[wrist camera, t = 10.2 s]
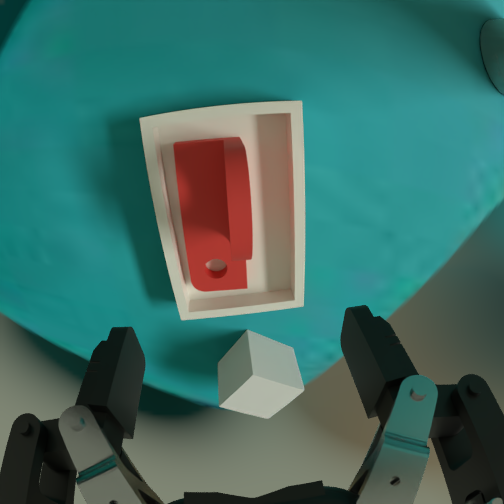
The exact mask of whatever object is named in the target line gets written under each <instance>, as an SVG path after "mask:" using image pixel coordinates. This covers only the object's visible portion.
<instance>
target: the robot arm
mask: <svg viewBox="0 0 504 504" xmlns="http://www.w3.org/2000/svg"><path fill="white" fill-rule="evenodd" d="M480 40H481V52H482V57H483V61H484V64H485V67H486V70H487V72H488V74H489V77H490V79H491V80H492V82H493V84H494V85H495V87H496V88H497V89H498V90H499V92H501V93H502V94H503V95H504V19H490V20H488V21H486V23H485V24H484V25H483V28H482V30H481V37H480ZM341 348H342V352H343V354H344V357H345V359H346V362H347V364H348V367H349V369H350V372H351V374H352V377H353V379H354V382H355V385H356V387H357V390H358V393H359V395H360V398H361V400H362V403H363V406H364V408H365V411H366V414H367V417H368V418H372V417H376V416H378V418H379V420H380V424H379V426H378V428H377V431H376V433H375V436H374V438H373V440H372V443H371V445H370V448H369V450H368V452H367V455H366V457H365V459H364V461H363V464H362V466H361V467H360V469H359V471H358V473H357V474H356V476H355V478H354V480H353V482H352V483H351V485H350V487H349V489H348V490H345V489H341V488H337V487H329V486H323V483H322V481H316V482H311V483H306V484H300V485H294V486H288V487H285V488H283V489H280V490H277V491H275V492H271V493H269V494H266V495H263V496H260V497H256V498H248V497H241V496H235V495H229V494H223V493H218V492H210V493H208V492H206V493H205V492H202V493H201V492H200V493H199V492H198V493H197V492H184V498H183V499H179V500H176V501H173V502H171V503H168V504H413V502H414V499H415V497H416V494H417V491H418V488H419V485H420V483H421V480H422V477H423V474H424V470H425V467H426V464H427V461H428V457H429V453H430V448H429V447H427V440H428V438H431V440H432V442H433V445H434V448H435V451H436V454H437V457H438V459H439V462H440V465H441V468H442V471H443V474H444V477H445V481H446V484H447V487H448V490H449V494H450V497H451V500H452V504H504V415H503V413H502V411H501V409H500V407H499V405H498V403H497V401H496V399H495V397H494V395H493V393H492V392H491V390H490V388H489V386H488V384H487V383H486V381H485V380H484V379H483V378H481V377H479V376H478V375H474V374H468V375H465V376H463V377H462V378H461V379H460V381H459V382H458V384H455V385H454V384H452V385H436V384H434V382H433V381H432V380H430V379H429V378H427V377H425V376H422V375H419V374H418V373H417V371H416V369H415V367H414V365H413V363H412V362H411V360H410V358H409V356H408V355H407V353H406V351H405V349H404V348H403V346H402V344H400V341H399V339H398V337H397V336H396V334H395V332H394V330H393V329H392V327H391V325H390V324H389V323H388V322H387V321H385V320H384V319H383V318H382V317H380V316H377V317H373V315H372V313H371V311H370V310H369V308H368V306H366V305H362V306H355V307H349V308H347V309H346V311H345V316H344V321H343V327H342V332H341ZM144 371H145V357H144V353H143V351H142V349H141V346H140V344H139V341H138V339H137V337H136V334H135V332H134V330H133V328H132V327H113V328H112V329H111V331H110V334H109V336H108V339H107V341H101V342H100V343H99V345H98V346H97V347H96V348H95V349H94V351H93V353H92V356H91V359H90V363H89V365H88V368H87V372H86V373H85V376H84V379H83V382H82V385H81V388H80V392H79V395H78V398H77V401H76V404H75V406H72V407H69V408H67V409H66V410H65V411H64V412H63V413H62V415H61V417H60V418H58V419H53V420H46V421H40V420H39V419H38V418H37V417H36V416H35V415H33V414H30V413H26V414H23V415H20V416H19V417H18V418H17V419H16V420H15V421H14V423H13V425H12V428H11V432H10V435H9V439H8V442H7V447H6V451H5V455H4V459H3V463H2V467H1V472H0V504H74V491H75V483H76V482H77V485H78V487H79V489H80V491H81V493H82V495H83V497H84V499H85V501H86V502H87V504H164V503H163V501H162V500H161V499H160V498H159V497H158V495H157V494H156V493H155V492H154V491H153V490H152V489H151V488H150V487H149V486H148V484H147V483H146V482H145V480H144V479H143V477H142V476H141V475H140V473H139V472H138V470H137V469H136V467H135V466H134V464H133V463H132V462H131V460H130V458H129V457H128V455H127V453H126V452H125V450H124V449H123V447H122V442H123V438H127V439H133V435H134V429H135V422H136V416H137V410H138V404H139V398H140V393H141V387H142V382H143V377H144ZM42 463H43V465H42ZM41 468H42V471H41ZM77 471H78V474H79V477H77V478H76V475H77ZM40 474H41V477H40ZM39 480H40V483H39Z"/></svg>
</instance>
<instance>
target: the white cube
mask: <svg viewBox="0 0 504 504" xmlns="http://www.w3.org/2000/svg"><path fill="white" fill-rule="evenodd" d="M218 390H219V407H223V408H226V409H230V410H234V411H238V412H241V413H245V414H250V415H254V416H258V417H263V418H267V419H269V418H270V417H271V416H273V415H274V414H275V413H277V412H278V411H279V410H280V409H282V408H283V407H284V406H286V405H287V404H288V403H289V402H291V401H292V400H293V399H294V398H295V397H297V396H298V395H299V394H300V393H302V392H303V391H304V386H303V382H302V379H301V375H300V371H299V368H298V364H297V360H296V357H295V353H294V350H293V348H292V347H290V346H287V345H284V344H282V343H279V342H277V341H274V340H272V339H269V338H267V337H264V336H262V335H259V334H257V333H255V332H252V331H250V330H246V331H245V333H244V334H243V335H242V336H241V337H240V338H239V340H238V341H237V342H236V343H235V344H234V345H233V346H232V348H231V349H230V350H229V351H228V352H227V353H226V354H225V355H224V357H223V358H222V359H221V360H220V361H219V362H218Z"/></svg>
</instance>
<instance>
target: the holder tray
mask: <svg viewBox="0 0 504 504" xmlns="http://www.w3.org/2000/svg"><path fill="white" fill-rule="evenodd" d="M139 119H140V126H141V134H142V140H143V147H144V153H145V160H146V166H147V172H148V177H149V183H150V188H151V194H152V199H153V204H154V209H155V214H156V219H157V224H158V228H159V233H160V238H161V242H162V246H163V251H164V255H165V259H166V264H167V268H168V272H169V276H170V280H171V284H172V288H173V291H174V295H175V299H176V303H177V306H178V310H179V314H180V317H181V320H189V319H200V318H211V317H221V316H230V315H239V314H248V313H257V312H265V311H273V310H280V309H288V308H295V307H302V306H304V275H305V169H304V136H303V113H302V101H270V102H253V103H240V104H229V105H219V106H210V107H202V108H194V109H187V110H181V111H174V112H168V113H162V114H157V115H151V116H147V117H142V118H139ZM228 137H240V139H241V140H242V142H243V144H244V146H245V149H246V155H247V161H248V170H249V180H250V191H251V206H252V228H253V252H252V259H251V260H246V267H247V287H248V289H236V290H223V291H209V292H203V291H199V290H197V289H196V288H194V287H193V285H192V283H191V278H190V272H189V266H188V260H187V253H186V246H185V240H184V233H183V225H182V218H181V210H180V202H179V194H178V186H177V177H176V168H175V158H174V148H173V144H174V143H175V142H182V141H191V140H202V139H214V138H228ZM206 267H207V268H208V269H210V270H212V271H220V270H223V269H224V268H225V267H226V263H225V262H224V261H222V260H219V259H212V260H210V261H208V262H207V263H206Z"/></svg>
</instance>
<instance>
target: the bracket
mask: <svg viewBox="0 0 504 504" xmlns="http://www.w3.org/2000/svg"><path fill="white" fill-rule="evenodd" d="M173 148H174V158H175V168H176V177H177V186H178V194H179V202H180V210H181V218H182V225H183V233H184V240H185V246H186V253H187V260H188V266H189V272H190V278H191V283H192V285H193V287H194V288H196V289H197V290H199V291H203V292H209V291H223V290H236V289H248V287H247V267H246V260H251V259H252V252H253V228H252V206H251V191H250V180H249V170H248V161H247V155H246V149H245V146H244V144H243V142H242V140H241V139H240V137H228V138H214V139H202V140H191V141H182V142H175V143H174V144H173ZM212 259H219V260H222V261H224V262H225V263H226V267H225V268H224V269H223V270H220V271H212V270H210V269H208V268H207V267H206V263H207V262H208V261H210V260H212Z"/></svg>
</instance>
